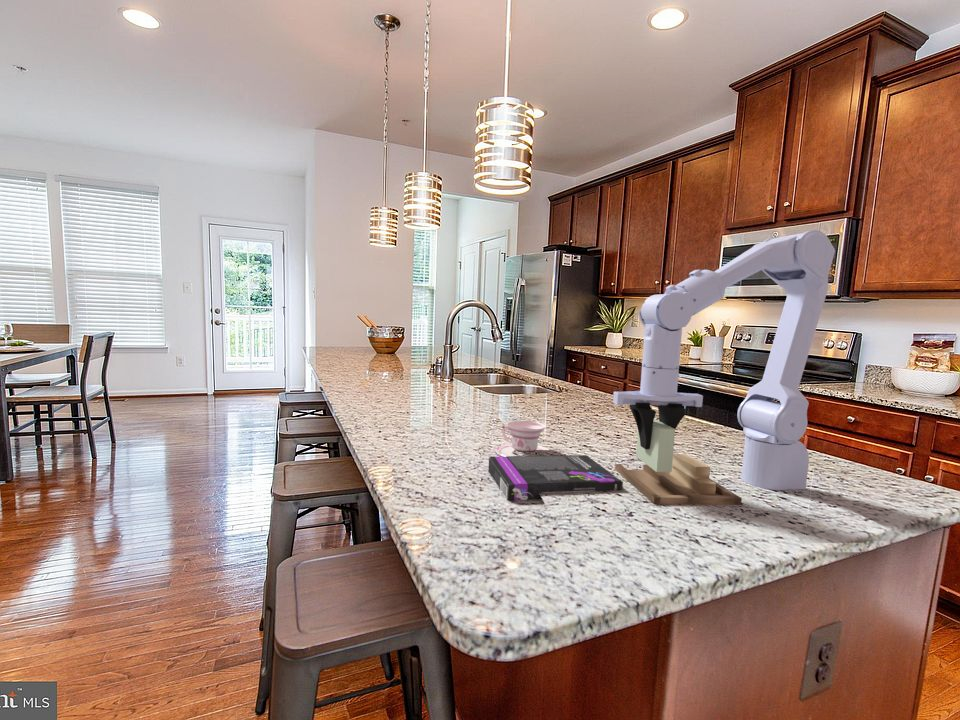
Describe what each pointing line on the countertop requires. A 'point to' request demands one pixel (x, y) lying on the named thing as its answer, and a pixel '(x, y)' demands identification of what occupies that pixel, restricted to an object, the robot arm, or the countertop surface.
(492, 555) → the countertop surface
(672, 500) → the walnut rack
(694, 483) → the offcut stack
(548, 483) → the box
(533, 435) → the teacup
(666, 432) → the pale green block
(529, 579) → the countertop surface
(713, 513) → the countertop surface
